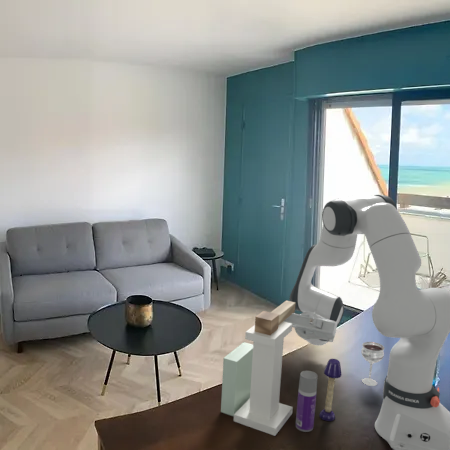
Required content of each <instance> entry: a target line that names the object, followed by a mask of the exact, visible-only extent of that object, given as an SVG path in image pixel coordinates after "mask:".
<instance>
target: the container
mask: <svg viewBox="0 0 450 450" xmlns="http://www.w3.org/2000/svg"><path fill="white" fill-rule="evenodd" d="M317 389H318V374H317V373H316V372H314V371H311V370H302V371H301V372H300V375H299V381H298V392H297V402H296V403H297V405H296V415H295V416H296V417H295V428H296V429H297V430H298V431H300V432H303V433H304V432H305V433H306V432H307V433H308V432H312V431H313V429H314V426H315V415H316V414H315V413H316V402H317Z"/></svg>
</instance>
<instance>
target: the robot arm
mask: <svg viewBox="0 0 450 450" xmlns="http://www.w3.org/2000/svg"><path fill="white" fill-rule="evenodd" d="M321 220H322V228H321V232H320V236H319V237H320V239H319V240H318V242H317V243H316V244H312V245H311V246H310V248H308V250H307V252H306V254H305V256H304V259H303V261H302V263H301V264H302V265H301V267H300V270H299V272H298V276H297V278H296V281H295V284H294V285H293V288H292V289H291V292H290V295H289V300H288V301H291V302H296V303H295V311H298V312H301V313H295V312H294V313H293V314H292V315H290V316H289V317H288V318H287V319H286V320H284V322H288V323H292V328H294V331H295V333H296V334H297V336H298V337H300V338H301V339H303V340H304V341H306V342H307V343H308V344H310V345H313V346H324V345H326V344H328V343H329V342H330V343H334V341H335V340H334V339H335V336H336V333H337V328H338V326H339V325H340V323H341V321H342V319H343V317H344V313H345V305H344V302H343V299H342V297H341V296H338V295H336V294H334V293H331V292H329V291H326V290H323V289H321V288H319V287H316V286H314V285H313V284H312V279H313V276H314V274H315V271H316V269H317V267H337V266H341V265H344V264H346V263H348V262H349V261H350V260H351V259H352V257H353V255H354V253H355V250H356V245H357V239H358V235H364V236H365V238H366V241H367V244H368V247H369V251H370V253H371V256H372V258H373V260H374V264H375V267H376V270H377V273H378V278H379V294H378V297H377V299H376V301H375V303H374V305H373V307H372V311H371V318H372V322H373V324H374V328H376V330H377V331H378V332H379V333H380V334H381V335H382V336H384V337H387V338H392V339H393V338H395V339H396V338H397V339H398V338H399V340H398V341H397V342H396V343H395V344H394V345H393V346H392V348H391V350H390V351H389V352H390V353H389V357H388V366H387V375H386V377H385V378H384V379H385V380H384V381H383V388H382V390H383V391H382V399H383V400H382V404H381V407H380V411H379V413H378V416H377V418H376V420H375V422H374V428H375V431H376V433H377V434H378V435H379V436H380V437H382V439H384V440H385V441H386V442H387V443H388V444H389V446H390V448H391V449H392V450H450V411H449V410H448V409H447V408H446V407H445V406H444V405H443V404H442V403H441V400H440V395H441V394H440V387H439V386H438V387H437V389H436V387H434V385H433V382H434V375H435V370H436V369H435V368H436V365H437V360H438V357H439V354H440V352H441V351H442V348H443V346H444V344H445V342H446V340H447V339H448V336H449V335H450V289H448V288H444V287H443V288H442V287H441V288H440V287H429V288H428V287H427V288H422V289H418V285H417V283H416V273H417V272H418V271H419V270H420V269H421V266H422V258H421V257H420V254H419V251H418V249H417V246H416V244H415V241H414V239H413V237H412V235H411V234H412V233H411V232H410V230H409V228H408V226H407V224H406V222H405V220H404V218H403V217H402V215H401V213H400V212H399V211H398V208H397V205H396V202H395V201H394V200H393V198H392V197H391V196H388V195H383V194H374V195H354V196H353V195H352V196H348V197H344V198H335V199H332V200H330V201H328V202H326V203H325V205H324V207H323V209H322V213H321Z"/></svg>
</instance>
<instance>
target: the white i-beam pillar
mask: <svg viewBox="0 0 450 450" xmlns="http://www.w3.org/2000/svg"><path fill="white" fill-rule="evenodd" d="M292 330H293V327H292V323H288V322H284V321H283V322H282V323H281V324H280V325H278V329H277V330H276V331H275V332H274V333H273V334H272V335H266V334H262V333H259V332H255V324H254V325H252V326H251V327H250V328H249V329H247V330H245V336H244V337H245V340H246V341H247V340H248V341H251V342H253V343H252V345H253V357H252V373H251V389H250V399H249V400H248V401H247V402H246V403H245V404H244V405H243V406H242V407H241V408H240V409H239V410H238V411H237V412H236V413H235V414H234V416H233V422H235V423H237V424H241V425H242V426H246V427H250V428H251V429H254V430H257V431H260V432H263V433H266V434H269V435H271V436H276V435H277V434H278V432H280V431H281V429H282V428H283V426H284V425H285V424H286V423H287V421H288V420H289V419H290V417H291V416H292V414H293V407H294V406H290V405H288V404H284V403H281V402H280V392H281V380H282V365H283V355H284V354H283V353H284V342H285V341H284V339H285V337H286V336H288V335H289V334H290V333H291V332H292Z"/></svg>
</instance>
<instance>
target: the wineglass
mask: <svg viewBox="0 0 450 450" xmlns="http://www.w3.org/2000/svg"><path fill="white" fill-rule="evenodd" d="M361 346H362V348H361V356H362V358H363V359H364V361H366V362H368V363H369V374H368V377H364V379H363V378H362V379H361V380H362V382H363V383H364V384H363V383H362V382H361V383H362V384H363V385H365V384H366V386H369V387H375V386H377V385H378V381H377V382H376V380H375V379H374V380H373V378H371V375H372V371H373V365H374V364H377V363H379V362H381V361H382V360H383V358H384V355H385V353H384V350H385V347H384V345H383V344H381V343H378V342H374V341H365V342H363V343H362V345H361Z"/></svg>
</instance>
